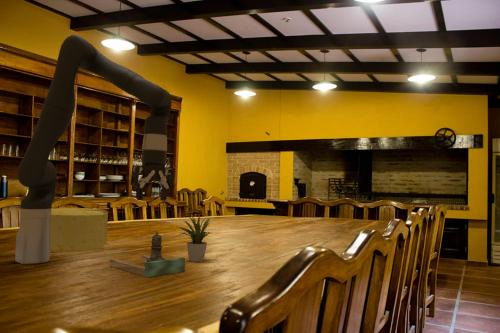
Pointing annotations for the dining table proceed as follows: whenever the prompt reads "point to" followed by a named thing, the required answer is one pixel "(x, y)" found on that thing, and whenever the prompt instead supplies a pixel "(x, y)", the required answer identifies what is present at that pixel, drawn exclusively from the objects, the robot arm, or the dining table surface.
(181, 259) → the guide channel
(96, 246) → the cheese
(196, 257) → the house plant
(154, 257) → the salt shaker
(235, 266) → the dining table surface
